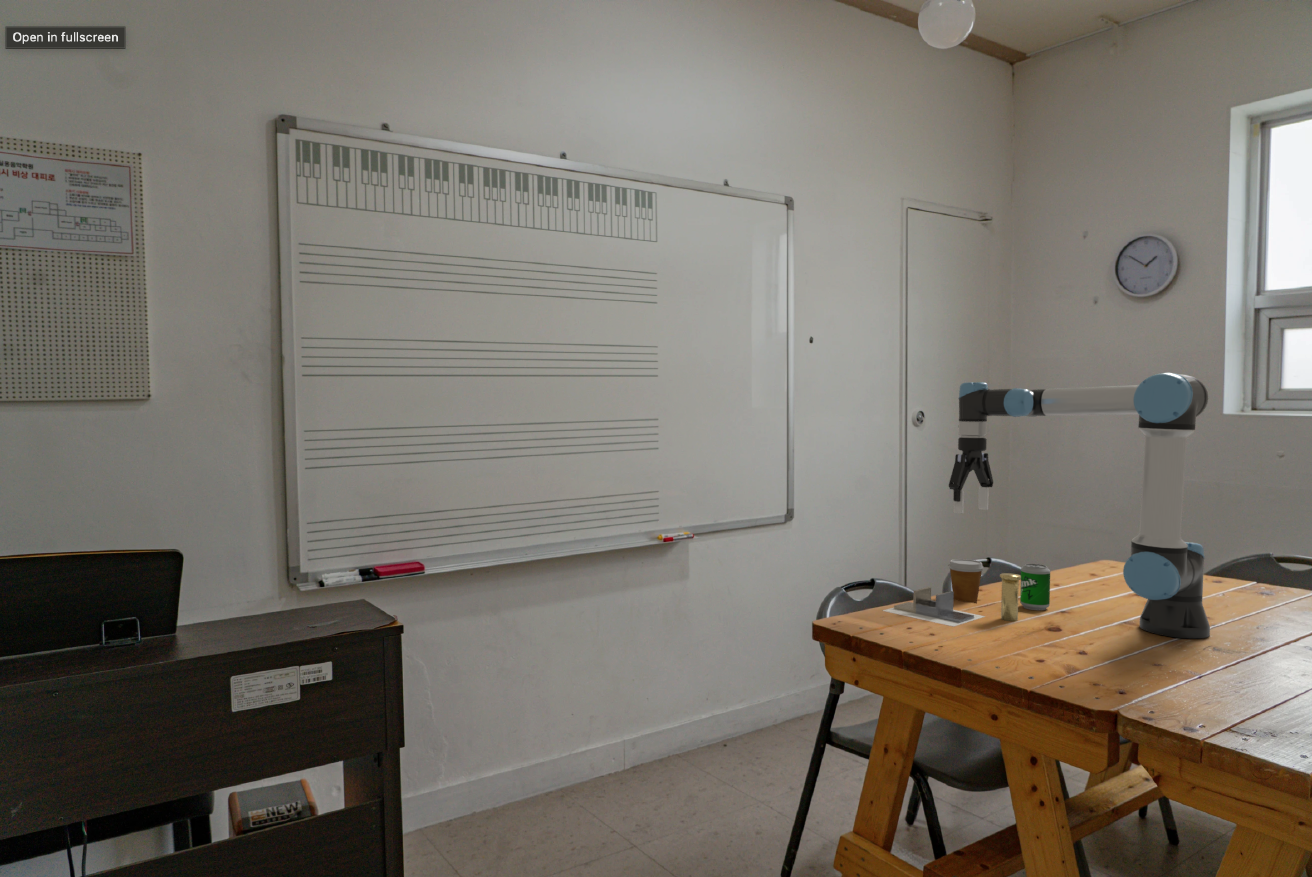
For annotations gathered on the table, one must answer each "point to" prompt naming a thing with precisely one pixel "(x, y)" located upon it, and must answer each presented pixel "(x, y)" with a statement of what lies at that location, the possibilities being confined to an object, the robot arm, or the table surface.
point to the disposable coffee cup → (965, 579)
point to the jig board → (931, 619)
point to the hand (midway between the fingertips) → (971, 511)
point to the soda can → (1035, 587)
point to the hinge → (934, 606)
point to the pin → (1009, 596)
